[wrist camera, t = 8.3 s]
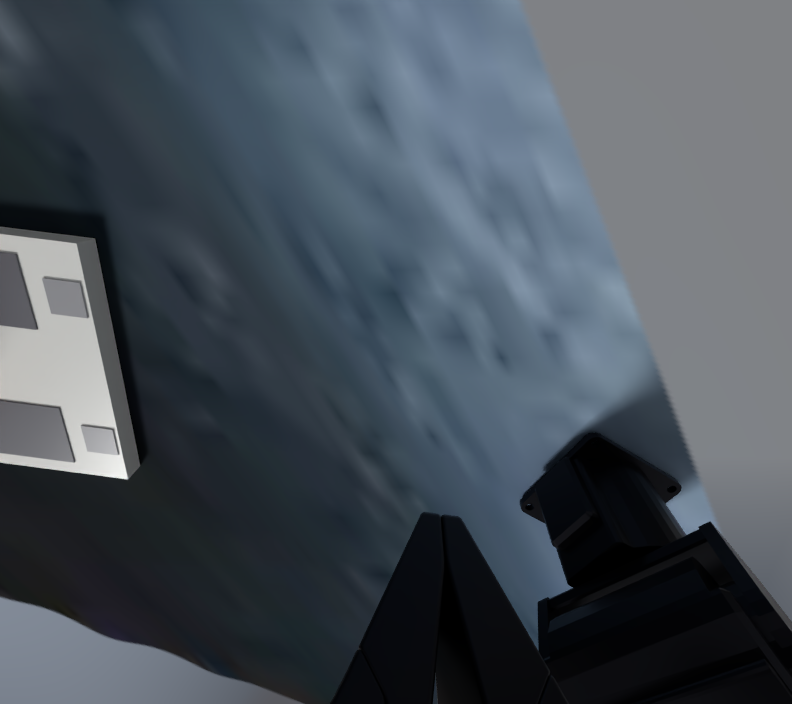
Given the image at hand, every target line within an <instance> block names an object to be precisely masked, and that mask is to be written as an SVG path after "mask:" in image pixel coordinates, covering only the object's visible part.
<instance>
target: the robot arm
mask: <svg viewBox="0 0 792 704" xmlns="http://www.w3.org/2000/svg"><path fill="white" fill-rule="evenodd" d="M593 441H597V442H596V443H594V444H591V443H592V442H593ZM670 486H671V487H670ZM668 487H669V488H668ZM680 491H681V485H680V484H679V483H678V481H677V480H676V479H675V478H673V477H671V476H670V475H668V474H666V473H665V472H663V471H661V470H660V469H658V468H656V467H655V466H653V465H651V464H650V463H648V462H646V461H645V460H643V459H641V458H640V457H638V456H636V455H635V454H633V453H631V452H629V451H628V450H626V449H624V448H623V447H621V446H619V445H618V444H616V443H614V442H613V441H611V440H609V439H608V438H606V437H604V436H603V435H601V434H599V433H589V434H588V435H586V436H585V437H584V438H583V439H582V440H581V441H580V442H579V443H578V444H577V445H576V446H575V447H574V448H573V449H572V450H571V451H570V452H569V453H568V454H567V455H566V456H565V457H564V458H563V459H561V460H560V461H559V462H558V463H557V464H556V465H555V466H554V467H553V468H552V469H551V470H550V471H549V472H548V473H547V474H546V475H545V476H544V477H543V478H542V479H541V480H540V481H539V482H538V483H537V484H536V485H535V486H534V487H533V488H532V489H531V490H530V491H529V492H528V493H527V494H526V495H525V496H524V497H523V498H522V499H521V500H520V506H521V509H522V511H523V512H525V513H526V514H528V515H530V516H532V517H534V518H536V519H538V520H540V521H541V522H543V523H545V524H546V527H547V530H548V533H549V536H550V539H551V542H552V545H553V546H554V547H556V549H557V552H558V555H559V558H560V562H561V565H562V568H563V571H564V574H565V577H566V580H567V583H568V585H570V586H571V587H573V588H572V589H570V590H568V591H565V592H563V593H561V594H559V595H557V596H555V597H552V598H550V599H549V598H548V597H547V598H545V599H543V600H541V601H539V602H538V643H539V651H538V650H537V648H536V646H535V645H534V643H533V641H532V639H531V638H530V636H529V634H528V632H527V631H526V629H525V627H524V626H523V624H522V622H521V620H520V619H519V617H518V615H517V614H516V612H515V610H514V608H513V607H512V605H511V603H510V601H509V600H508V598H507V596H506V595H505V593H504V591H503V589H502V588H501V586H500V584H499V583H498V581H497V579H496V577H495V576H494V574H493V572H492V570H491V569H490V567H489V565H488V564H487V562H486V560H485V558H484V557H483V555H482V553H481V552H480V550H479V548H478V546H477V545H476V543H475V541H474V539H473V538H472V536H471V534H470V533H469V531H468V529H467V527H466V526H465V524H464V522H463V521H462V519H461V518H460V517H458V516H451V515H442V516H440V515H439V514H436V513H428V512H423V513H422V514H421V515H420V518H419V520H418V522H417V524H416V526H415V528H414V530H413V532H412V535H411V537H410V539H409V541H408V543H407V545H406V547H405V549H404V552H403V554H402V556H401V558H400V560H399V562H398V564H397V566H396V569H395V571H394V573H393V575H392V577H391V579H390V581H389V583H388V586H387V588H386V590H385V592H384V594H383V596H382V598H381V600H380V603H379V605H378V607H377V609H376V611H375V613H374V615H373V617H372V620H371V622H370V624H369V626H368V628H367V630H366V632H365V634H364V637H363V639H362V641H361V643H360V645H359V649H358V650H357V651H356V653H355V655H354V657H353V659H352V662H351V664H350V666H349V668H348V670H347V672H346V674H345V676H344V678H343V680H342V682H341V684H340V686H339V688H338V690H337V692H336V693H335V695H334V697H333V699H332V701H331V703H330V704H433V694H434V683H435V673H436V686H437V699H438V704H792V622H791V620H790V619H789V618H788V616H787V615H786V614H785V613H784V611H783V610H782V609H781V607H780V606H779V605H778V604H777V602H776V601H775V600H774V599H773V597H772V596H771V595H770V593H769V592H768V591H767V590H766V588H765V587H764V586H763V584H762V583H761V582H760V581H759V579H758V578H757V577H756V576H755V574H754V573H753V572H752V571H751V570H750V568H749V567H748V566H747V565H746V564H745V563H744V561H743V560H742V559H741V558H740V556H739V555H738V554H737V553H736V552H735V551H734V549H733V548H732V547H731V546H730V545H729V543H728V542H727V541H726V540H725V538H724V537H723V536H722V535H721V534H720V532H719V531H718V530H717V529H716V528H715V526H714V525H713V524H712V523H711V522H708V523H706V524H703V525H701V526H699V530H697V531H694V532H692V533H690V534H688V535H686V534H685V532H684V531H683V529H682V528H681V526H680V525H679V523H678V522H677V520H676V519H675V517H674V516H673V514H672V513H671V511H670V510H669V508H668V507H667V505H666V503H667V502H668V501H669V500H671V499H672V498H673V497H674V496H676V495H677V494H678V493H679V492H680ZM528 504H531V505H528Z"/></svg>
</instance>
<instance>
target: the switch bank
mask: <svg viewBox="0 0 792 704" xmlns="http://www.w3.org/2000/svg"><path fill="white" fill-rule="evenodd" d="M0 462H1V463H9V464H16V465H24V466H31V467H39V468H46V469H54V470H62V471H69V472H77V473H84V474H92V475H99V476H107V477H115V478H122V479H129V478H130V476H131V475H132V474H133V473H134V472H135V471H136V470H137V469H138V468H139V466H140V462H139V457H138V452H137V447H136V442H135V437H134V432H133V427H132V422H131V417H130V412H129V407H128V402H127V397H126V392H125V387H124V382H123V377H122V372H121V367H120V361H119V356H118V351H117V346H116V341H115V336H114V331H113V326H112V321H111V316H110V311H109V306H108V301H107V296H106V291H105V286H104V281H103V276H102V271H101V266H100V261H99V255H98V250H97V245H96V240H95V238H88V237H80V236H72V235H64V234H56V233H48V232H40V231H32V230H24V229H16V228H8V227H0Z"/></svg>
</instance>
